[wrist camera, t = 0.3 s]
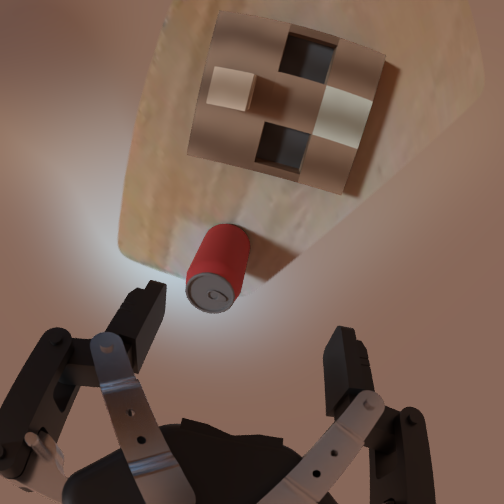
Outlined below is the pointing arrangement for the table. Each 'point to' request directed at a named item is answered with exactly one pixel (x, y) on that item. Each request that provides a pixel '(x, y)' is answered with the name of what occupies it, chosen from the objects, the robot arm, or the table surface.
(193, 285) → the beer can
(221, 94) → the maple block
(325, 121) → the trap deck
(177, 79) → the table surface
